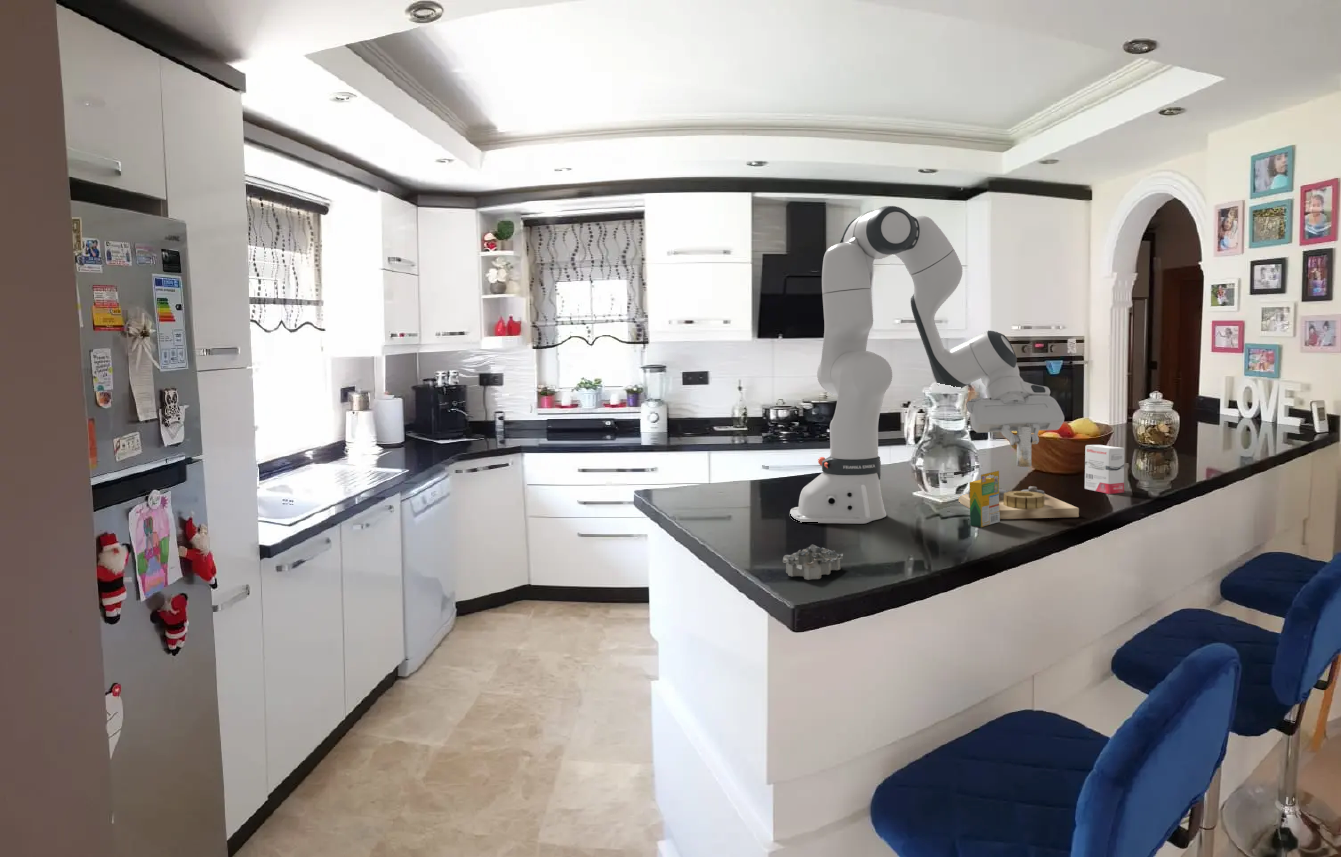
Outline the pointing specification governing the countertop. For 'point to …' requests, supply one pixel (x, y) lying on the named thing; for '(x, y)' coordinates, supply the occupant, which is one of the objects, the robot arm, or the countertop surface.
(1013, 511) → the gear board
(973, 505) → the crayon box
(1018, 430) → the input shaft
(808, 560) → the egg carton
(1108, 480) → the ink box
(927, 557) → the countertop surface
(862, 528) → the countertop surface
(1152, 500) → the countertop surface
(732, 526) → the countertop surface
